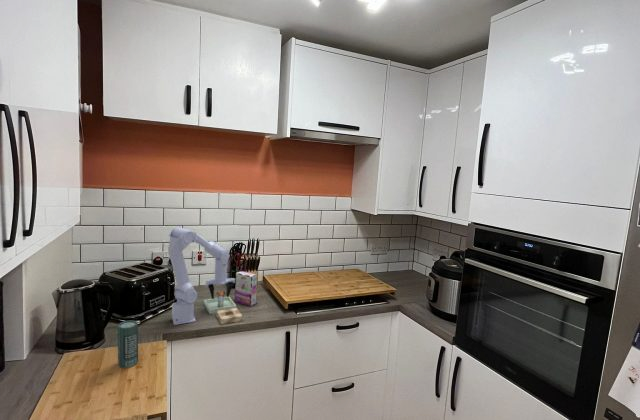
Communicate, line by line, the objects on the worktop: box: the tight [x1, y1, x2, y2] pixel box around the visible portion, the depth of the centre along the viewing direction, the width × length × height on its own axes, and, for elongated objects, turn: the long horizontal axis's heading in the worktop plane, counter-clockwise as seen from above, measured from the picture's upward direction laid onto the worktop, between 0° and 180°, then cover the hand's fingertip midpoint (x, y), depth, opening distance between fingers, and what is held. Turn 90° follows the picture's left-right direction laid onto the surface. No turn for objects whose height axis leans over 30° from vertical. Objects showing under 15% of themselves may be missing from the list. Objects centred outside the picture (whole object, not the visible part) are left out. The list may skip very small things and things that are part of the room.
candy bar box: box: [234, 270, 258, 307], centre depth 184 cm, size 11×5×16 cm, turn 62°
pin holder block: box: [215, 307, 243, 325], centre depth 165 cm, size 10×10×2 cm
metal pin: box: [216, 290, 226, 308], centre depth 176 cm, size 4×4×8 cm
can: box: [117, 320, 139, 369], centre depth 124 cm, size 6×6×15 cm
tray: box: [203, 296, 237, 315], centre depth 177 cm, size 13×13×2 cm
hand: (220, 297), depth 176 cm, fingers open, 7 cm apart
